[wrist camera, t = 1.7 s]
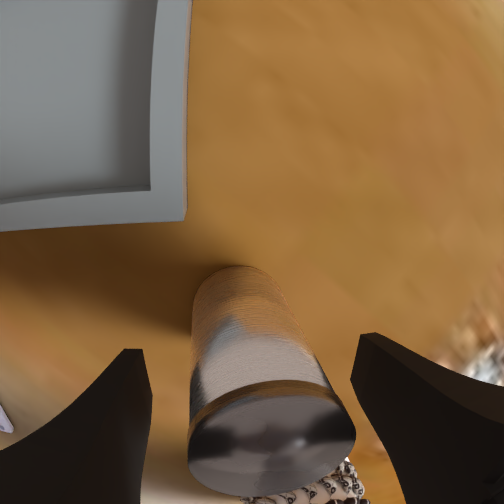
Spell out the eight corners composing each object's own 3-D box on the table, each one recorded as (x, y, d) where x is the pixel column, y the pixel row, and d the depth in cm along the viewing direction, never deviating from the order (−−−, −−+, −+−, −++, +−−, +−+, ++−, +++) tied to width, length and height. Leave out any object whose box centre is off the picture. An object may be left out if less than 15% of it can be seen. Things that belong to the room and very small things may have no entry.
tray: (-76, 229, 10) (-103, 242, 8) (-61, 17, 6) (-85, 9, 4) (187, 207, 12) (183, 220, 10) (200, -66, 8) (201, -97, 6)
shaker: (195, 348, 14) (197, 500, 7) (188, 266, 13) (175, 412, 5) (281, 343, 15) (337, 482, 7) (286, 263, 13) (373, 389, 6)
